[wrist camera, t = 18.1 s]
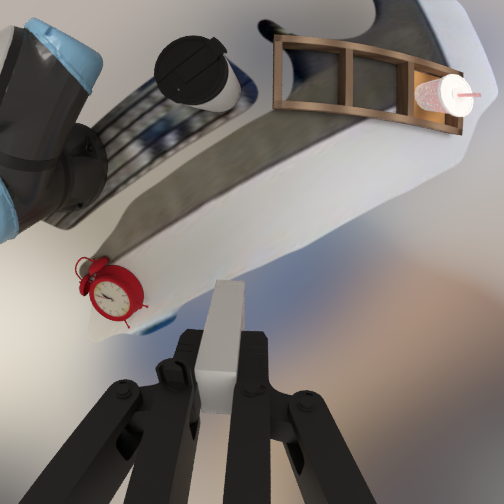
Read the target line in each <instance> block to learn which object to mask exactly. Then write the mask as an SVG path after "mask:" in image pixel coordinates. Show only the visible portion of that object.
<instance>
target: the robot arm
mask: <svg viewBox="0 0 504 504" xmlns="http://www.w3.org/2000/svg"><path fill="white" fill-rule="evenodd" d="M24 27H25V28H19V27H15V26H8V27H6V28H4V29H3V30H1V31H0V244H2V243H3V242H5V241H7V240H9V239H14V238H15V237H16V236H17V235H18V234H19V233H21V232H23V231H24V230H26V229H27V228H29V227H30V226H32V225H34V224H35V223H36V222H38V221H40V220H42V219H43V218H45V217H47V216H49V215H50V214H52V213H54V212H74V211H78V210H80V209H82V208H84V207H86V206H88V205H89V204H91V203H92V202H93V201H94V200H95V199H96V198H97V197H98V196H99V194H100V193H101V191H102V189H103V187H104V184H105V181H106V176H107V156H106V152H105V149H104V146H103V144H102V142H101V140H100V138H99V137H98V135H97V134H96V133H95V132H94V131H93V130H92V129H91V128H89V127H87V126H86V125H83V124H80V123H75V122H76V120H77V118H78V116H79V114H80V112H81V109H82V108H83V106H84V104H85V102H86V99H87V98H88V96H89V95H91V93H92V88H93V86H94V84H95V82H96V80H97V78H98V76H99V74H100V72H101V70H102V67H103V59H102V57H101V55H100V54H99V53H98V52H96V51H94V50H93V49H91V48H90V47H88V46H86V45H85V44H83V43H81V42H79V41H78V40H76V39H74V38H73V37H71V36H69V35H67V34H65V33H63V32H61V31H59V30H58V29H56V28H54V27H52V26H50V25H48V24H47V23H45V22H43V21H41V20H39V19H37V18H31V19H30V20H29V21H28V22H27V23H25V25H24ZM244 324H245V281H225V280H217V281H216V284H215V288H214V292H213V296H212V300H211V304H210V308H209V312H208V316H207V320H206V324H205V328H204V330H195V329H187V330H186V331H185V332H184V333H183V334H182V335H181V336H180V338H179V341H178V345H177V348H176V351H175V354H174V357H173V358H169V359H166V360H163V361H162V362H160V363H159V364H158V365H157V367H156V372H157V376H158V379H159V383H158V384H155V385H150V386H143V387H139V386H138V385H137V383H135V382H133V381H132V380H127V379H124V380H119V381H116V382H114V383H113V384H112V385H111V386H110V387H109V388H108V389H107V391H106V392H105V393H104V394H103V395H102V397H101V398H100V399H99V401H98V402H97V403H96V404H95V405H94V407H93V408H92V409H91V410H90V412H89V413H88V414H87V415H86V417H85V418H84V419H83V420H82V422H81V423H80V424H79V426H78V427H77V428H76V429H75V430H74V432H73V433H72V434H71V436H70V437H69V438H68V439H67V441H66V442H65V443H64V444H63V446H62V447H61V448H60V450H59V451H58V452H57V453H56V455H55V456H54V457H53V459H52V460H51V461H50V463H49V464H48V465H47V466H46V468H45V469H44V470H43V472H42V473H41V474H40V476H39V477H38V478H37V480H36V481H35V482H34V484H33V485H32V486H31V487H30V489H29V490H28V492H27V493H26V494H25V495H24V497H23V498H22V500H21V501H20V502H19V504H109V503H110V501H111V500H112V498H113V497H114V495H115V493H116V492H117V490H118V489H119V487H120V485H121V484H122V482H123V481H124V479H125V477H126V476H127V474H128V473H129V471H130V469H131V468H132V466H133V464H134V467H133V471H132V474H131V477H130V481H129V484H128V488H127V492H126V496H125V499H124V503H123V504H187V503H188V496H189V490H190V483H191V477H192V471H193V464H194V459H195V452H196V446H197V440H198V434H199V428H200V417H199V414H200V409H201V410H202V412H203V413H216V414H231V422H230V432H229V442H228V454H227V464H226V474H225V484H224V495H223V504H271V495H270V494H271V489H270V488H271V476H270V473H271V471H270V439H274V440H277V441H281V442H283V445H284V447H285V450H286V453H287V456H288V458H289V461H290V464H291V467H292V470H293V472H294V475H295V478H296V481H297V483H298V486H299V489H300V491H301V494H302V497H303V499H304V502H305V504H377V503H376V501H375V500H374V497H373V496H372V494H371V492H370V490H369V488H368V486H367V484H366V482H365V480H364V478H363V476H362V474H361V472H360V470H359V468H358V466H357V465H356V462H355V460H354V458H353V456H352V454H351V452H350V451H349V448H348V447H347V445H346V442H345V441H344V439H343V437H342V435H341V433H340V431H339V429H338V427H337V425H336V423H335V421H334V419H333V417H332V415H331V413H330V411H329V409H328V407H327V405H326V403H325V401H324V399H323V398H322V397H321V396H320V395H319V394H317V393H316V392H313V391H309V390H305V391H299V392H296V393H294V394H293V395H288V394H284V393H281V392H279V391H277V390H275V389H274V388H273V387H272V386H271V384H270V383H269V376H268V338H267V337H266V335H265V334H264V332H262V331H244V326H245V325H244Z"/></svg>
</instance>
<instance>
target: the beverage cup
mask: <svg viewBox="0 0 504 504" xmlns="http://www.w3.org/2000/svg"><path fill="white" fill-rule="evenodd" d="M473 97H481V94H480V93H472V90H471V88H470V86H469V84H468V83H467V82H466V80H465V79H464V78H462V77H461V76H459V75H456V74H448V75H446V76H443V77H442V78H440V79H436V80H433V81H429V82H426V83H422V84H420V85H418V86H417V88H416V90H415V100H416V102H417V104H418V105H419V106H420V107H421V108H422V109H424V110H426V111H434V112H441V113H448V114H451V115H453V116H456V117H464V116H466V115H468V114H469V113H470V111H471V110H472V107H473V102H474V101H473Z"/></svg>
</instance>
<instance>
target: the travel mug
mask: <svg viewBox="0 0 504 504" xmlns="http://www.w3.org/2000/svg"><path fill="white" fill-rule="evenodd" d="M223 53H227V50H226V48H225V47H224V46H223V45H222V43H221V42H220V41H219V40H218V39H216V38H215V37H213V38H212V39H210V40H209V39H207V38H205V37H202V36H185V37H182V38H179V39H177V40H175V41H173V42H171V43H170V44H169V45H167V46H166V48H164V49H163V51H162V52H161V53H160V55H159V57H158V59H157V61H156V64H155V68H154V76H155V79H156V83H157V84H158V88H159V90H160V91H161V93H162V94H163V95H164V96H165V97H167V98H169V99H171V100H173V101H174V102H176V103H180V104H182V105H186V106H190V107H195V108H199V109H203V110H208V111H212V112H225V111H228V110H229V109H231V108H233V107H234V106H235V105H236V104H237V102H238V101H239V99H240V95H241V87H240V84H239V82H238V80H237V78H236V76H235V74H234V72H233V70H232V68H231V66H230V65H229V63H228V61H227V59H226V57H225V56H224V54H223Z"/></svg>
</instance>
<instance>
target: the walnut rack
mask: <svg viewBox="0 0 504 504" xmlns="http://www.w3.org/2000/svg"><path fill="white" fill-rule="evenodd" d="M282 49H297V50H309V51H319V52H328V53H335V54H339V90H338V105H333V104H323V103H312V102H298V101H282ZM353 56H355V57H361V58H367V59H372V60H377V61H382V62H387V63H391V64H395V65H397V112H396V114H395V113H389V112H384V111H378V110H372V109H365V108H358V107H353ZM414 69H415V70H419V71H422V72H426V73H429V74H433V75H436V76H439V77H443V76H446V75H448V74H456V75H459V76H461V77H462V78H463V73H462V72H459V71H457V70H454V69H451V68H449V67H446V66H443V65H440V64H437V63H434V62H431V61H427V60H424V59H421V58H417V57H414V56H410V55H407V54H403V53H399V52H395V51H391V50H386V49H382V48H377V47H373V46H368V45H362V44H357V43H351V42H345V41H338V40H331V39H323V38H314V37H303V36H290V35H275V36H274V42H273V109H282V110H300V111H314V112H326V113H336V114H345V115H353V116H361V117H368V118H375V119H381V120H387V121H393V122H399V123H404V124H409V125H414V126H419V127H424V128H428V129H433V130H437V131H441V132H445V133H449V134H456V135H462V131H463V117H456V116H453V115H451V114H448V113H441V112H434V111H426V110H424V109H422V108H421V107H420V106H419V105H418V104H417V102H416V100H415V90H416V88H417V86H418V85H420V84H422V83H426V82H429V81H433V80H436V79H440V78H439V77H435V76H432V75H429V74H425V73H422V72H418V71H415V70H414ZM444 120H445V124H444Z"/></svg>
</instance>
